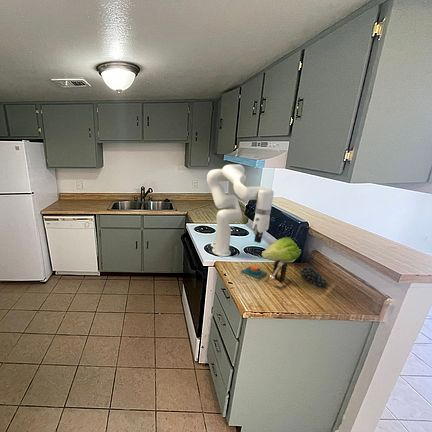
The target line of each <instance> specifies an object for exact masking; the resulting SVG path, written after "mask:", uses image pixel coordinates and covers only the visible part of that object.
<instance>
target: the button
mask: <svg viewBox="0 0 432 432" xmlns="http://www.w3.org/2000/svg"><path fill="white" fill-rule="evenodd" d="M250 266H251V270H253V271H258V268H259V266H257V265H253V264H252V265H250Z"/></svg>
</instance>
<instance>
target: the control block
mask: <svg viewBox="0 0 432 432" xmlns="http://www.w3.org/2000/svg"><path fill="white" fill-rule="evenodd" d="M251 266H252V265H250V266H247V267H246V268H244V269H242V270H241V272H240V273H241V274H244V275H246V276H249V277H251V278H253V279H256V280H259V279H261V278H262V277H264V276H266V275H267V272H266V271H265V270H262V269H261V268H260V267H258V271H253V270H251Z"/></svg>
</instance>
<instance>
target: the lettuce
mask: <svg viewBox="0 0 432 432" xmlns="http://www.w3.org/2000/svg"><path fill="white" fill-rule="evenodd" d="M291 238H292V237H288V236H285V237H282V238H279V239H276V240H275V241H273V242H272V243H271V244H269V245H268V246H267V247H266V248H265V249H264V250H263V251H262V252H261V257H262V258H264V259H266V260H267V259H268V260H271V261H274V262H276V261H277V260H280V262H282V263H290V262H294V261H296V260H297V259H299V257H300V256H301V255H302V250H301V249H299V247H298V246H297V244H296V243H295V242H294V241H293V240H292V239H293V238H292V239H291Z"/></svg>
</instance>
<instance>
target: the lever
mask: <svg viewBox="0 0 432 432" xmlns="http://www.w3.org/2000/svg"><path fill="white" fill-rule="evenodd" d="M284 263H285V262H279V263H278V265H277V269H276V270H275V272H274V273H273V272H272V274H269V275H268V280H269V281H271V282H274V281H275V280H276V278H275V275H276V274H277V272H278V273H279V271H281V270H282V265H283V264H284ZM277 275H278V274H277Z"/></svg>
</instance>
